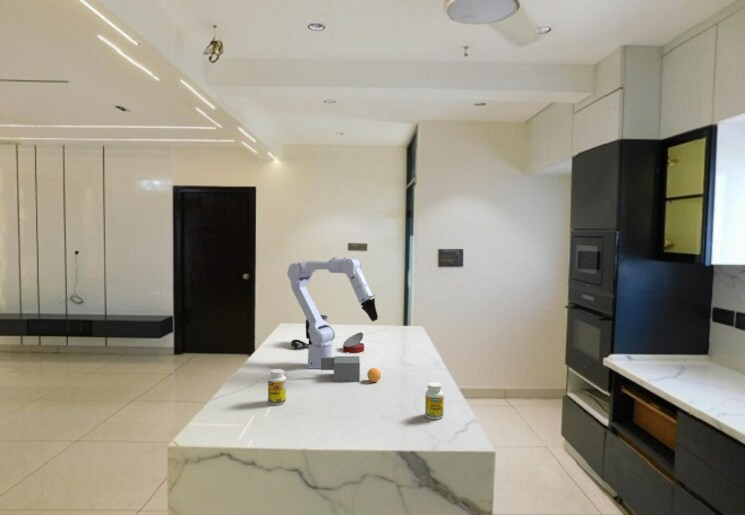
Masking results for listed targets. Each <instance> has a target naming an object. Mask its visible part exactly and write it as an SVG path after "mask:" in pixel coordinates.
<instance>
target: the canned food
mask: <svg viewBox="0 0 745 515" xmlns="http://www.w3.org/2000/svg"><path fill="white" fill-rule="evenodd" d="M363 338H364V333H363V332H361V331H360V332H358V333H355V334H353V335H352V336H350V337H348V338H347V339H345V341H344V342H343V344H342V345H343V346H342V350H343V352H344V351H345V352H344V353H346V352H349V353H348V354H360V352H361V353H364V352H365V343H363V342H362V340H363ZM363 351H364V352H363Z"/></svg>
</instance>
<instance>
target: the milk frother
mask: <svg viewBox="0 0 745 515" xmlns="http://www.w3.org/2000/svg"><path fill="white" fill-rule="evenodd" d="M320 316H321V318H322V319H323V320H324V321H326V322H328V315H325V314H320ZM309 327H310V324H309V322H308V320H307V318H306V320H305V338H306V340H308V343H306V342H304V341H302V340H299V339H292V340H291V341H290V346H291V347H292V348H294V349H295V350H302V349H305V348H306V345H307V347H308V348H309V345H312V344H313V343H312V342H311V340H310V335H309V332H308V329H309ZM300 344H301V345H302V346H300Z"/></svg>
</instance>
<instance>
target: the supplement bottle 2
mask: <svg viewBox="0 0 745 515" xmlns="http://www.w3.org/2000/svg"><path fill="white" fill-rule="evenodd" d="M424 395H425V396H424V397H425V401H424V402H425V403H424V404H425V406H424V407H425V411H424V412H425V414H424V415H425V417H427V419H430V420H440V418H441V419H443V418H444V399H445V398H444V396H445V395H444V392H443V391H442V383H441V382H435V381H434V382H428V383H427V390H426V391H425V394H424Z"/></svg>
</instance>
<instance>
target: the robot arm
mask: <svg viewBox="0 0 745 515" xmlns="http://www.w3.org/2000/svg"><path fill="white" fill-rule="evenodd" d="M316 270H318V271H319V270H327V271H328V272H329V273H330V274H344V275H346V277H347V278H348V281H349V283H350V284H351V287H352V288H353V291H354V294H355V296H356V298H357V302H358V303H360V306H361V309H362V310H363V311H364V312H365V313H366V314H367V315H368V317H369V319H370V320H371V322H376V321H377V320H378V319H379V315H378V313H377V309H376V301H375V300H376V298H375V296H376V293H375V292H374V293H372V291H371V289H370V287H369V284H368V282H367V280H366V278H365V275H364V273H363V271H362V262H361V261H360V260H359V259H358V258H354V257H353V258H348V257H343V258H338V256H333V257H332V258H330V259H328V261H321V260H319V261H318V260H309V261H307V260H306V261H301V262H297V263H296V262H294V263H291V264H290V265H289V267H288V269H287V272H286V274H287V276H288V279H289V280H290V281H289V282H290V286H291V287H290V288H291V290H292V292H293V294H294V296H295V297H296V300H297V303H298V304H299V306H300V308H301V310H302V312H303V313H304V315H305V318H306V319H307V320H308V322H309V324H310V327H309V329H308V332H309V335H310V340H311V342H312V343H313V344H312V345H309V347H308V349H307V351H308V354H307V355H308V356H307V357H308V358H307V368H308V369H321V357H332V344H333V340H334V339H335V337H336V331H335V330H334V328H333V327H332V326H330V324H329V322H328V321H327V322H326V321H324V320H323V319H322V318H321V316H320V315H321V314H320V312H319V310H318V308H317V306H316V304H315V303H314V300H313V298H312V297H311V294H310V292H309V291H308V288H307V287H306V286H307V284H308V282H309V281H310V279H311V278H312V275H313V274H314V273H315V272H316ZM373 297H374V298H373Z"/></svg>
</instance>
